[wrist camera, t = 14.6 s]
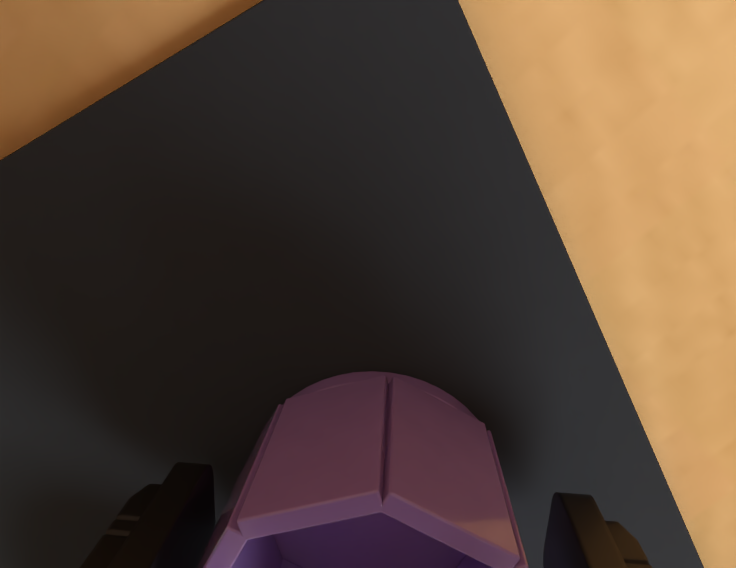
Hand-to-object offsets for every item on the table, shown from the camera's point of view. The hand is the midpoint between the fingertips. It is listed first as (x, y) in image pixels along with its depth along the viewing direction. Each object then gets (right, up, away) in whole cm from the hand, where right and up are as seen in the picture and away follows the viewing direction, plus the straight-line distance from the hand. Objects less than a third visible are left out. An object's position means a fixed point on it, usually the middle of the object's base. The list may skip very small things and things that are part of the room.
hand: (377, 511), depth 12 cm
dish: (0, 0, +1) cm, 1 cm away
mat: (-1, -4, +3) cm, 5 cm away
